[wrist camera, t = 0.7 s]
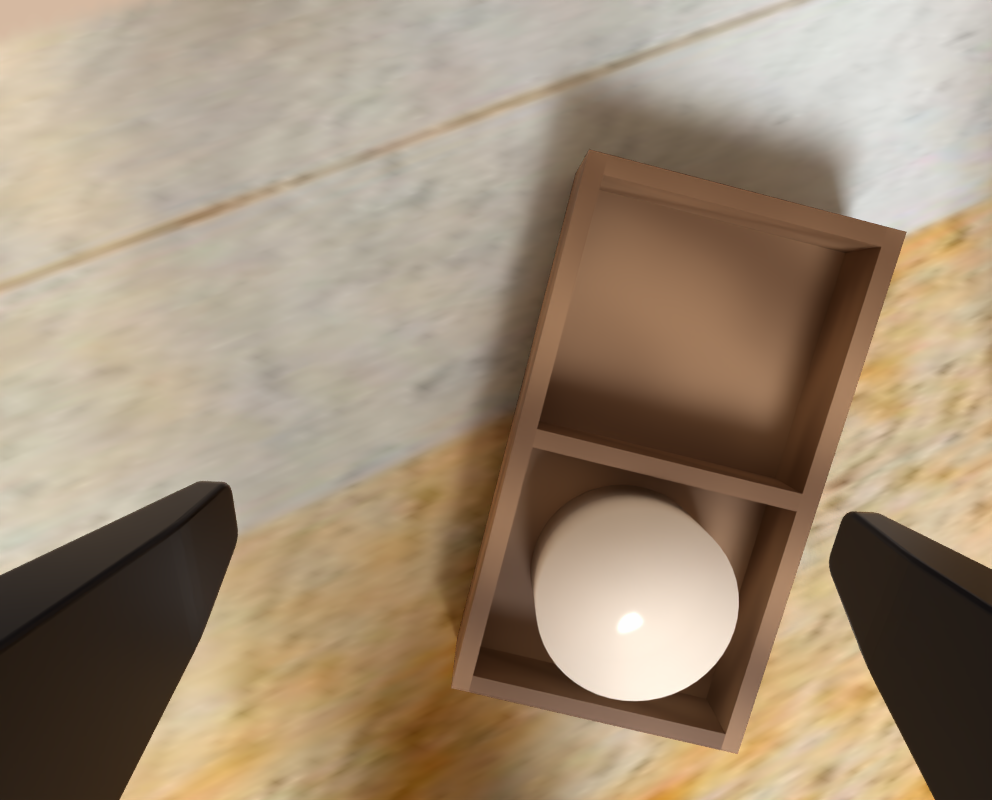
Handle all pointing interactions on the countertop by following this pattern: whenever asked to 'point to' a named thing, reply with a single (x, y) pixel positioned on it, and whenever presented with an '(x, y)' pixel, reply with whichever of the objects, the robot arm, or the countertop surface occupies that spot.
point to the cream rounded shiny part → (632, 594)
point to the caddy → (678, 414)
